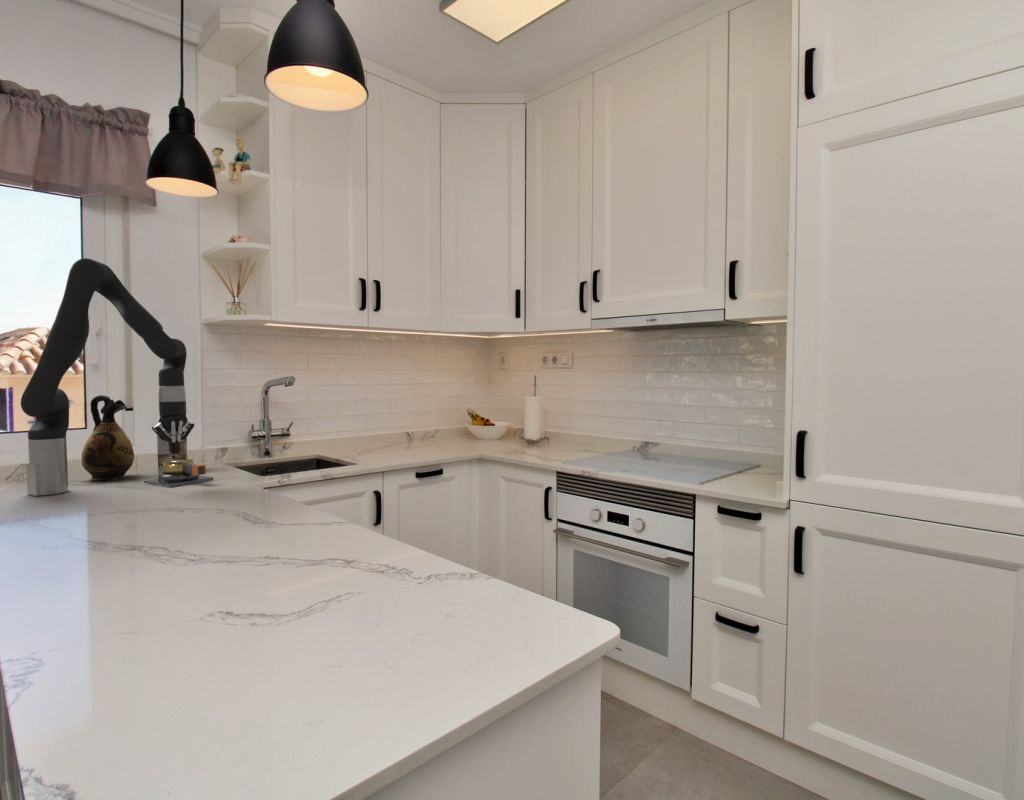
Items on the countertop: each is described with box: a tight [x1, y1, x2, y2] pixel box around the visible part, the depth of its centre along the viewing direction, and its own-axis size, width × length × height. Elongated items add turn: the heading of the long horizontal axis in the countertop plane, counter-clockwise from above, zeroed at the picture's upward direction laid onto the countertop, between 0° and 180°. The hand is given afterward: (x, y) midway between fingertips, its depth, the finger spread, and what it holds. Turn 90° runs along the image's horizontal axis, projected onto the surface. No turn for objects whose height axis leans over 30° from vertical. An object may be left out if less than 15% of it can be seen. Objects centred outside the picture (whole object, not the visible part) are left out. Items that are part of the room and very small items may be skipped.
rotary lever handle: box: [163, 458, 207, 476], centre depth 192 cm, size 18×9×4 cm, turn 61°
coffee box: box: [156, 428, 188, 474], centre depth 216 cm, size 9×6×16 cm
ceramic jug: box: [81, 394, 135, 482], centre depth 201 cm, size 17×15×30 cm
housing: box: [143, 460, 214, 488], centre depth 194 cm, size 15×15×7 cm
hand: (174, 453), depth 182 cm, fingers closed
